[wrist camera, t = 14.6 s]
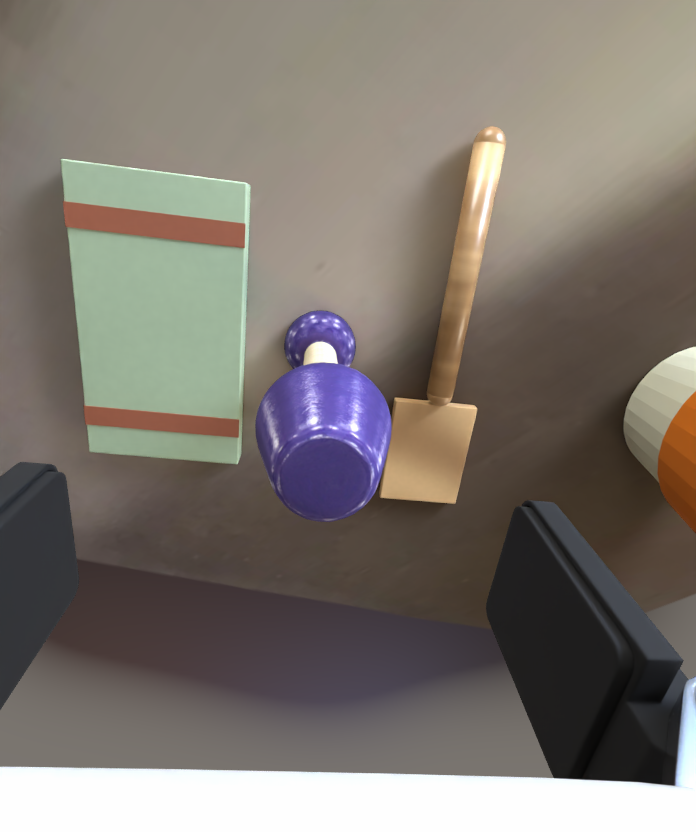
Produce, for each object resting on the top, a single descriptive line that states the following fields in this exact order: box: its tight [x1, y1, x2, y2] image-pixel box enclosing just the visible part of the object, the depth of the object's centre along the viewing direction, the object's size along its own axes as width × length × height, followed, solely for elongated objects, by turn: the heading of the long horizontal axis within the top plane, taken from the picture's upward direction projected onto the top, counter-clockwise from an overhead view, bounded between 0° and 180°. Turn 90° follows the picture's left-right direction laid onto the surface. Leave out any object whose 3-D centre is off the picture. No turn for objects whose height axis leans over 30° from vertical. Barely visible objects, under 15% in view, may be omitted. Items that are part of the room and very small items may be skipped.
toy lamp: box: [255, 311, 392, 522], centre depth 20 cm, size 5×5×17 cm
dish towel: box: [61, 159, 250, 464], centre depth 27 cm, size 9×16×1 cm, turn 173°
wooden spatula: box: [379, 127, 506, 504], centre depth 28 cm, size 22×5×2 cm, turn 173°
